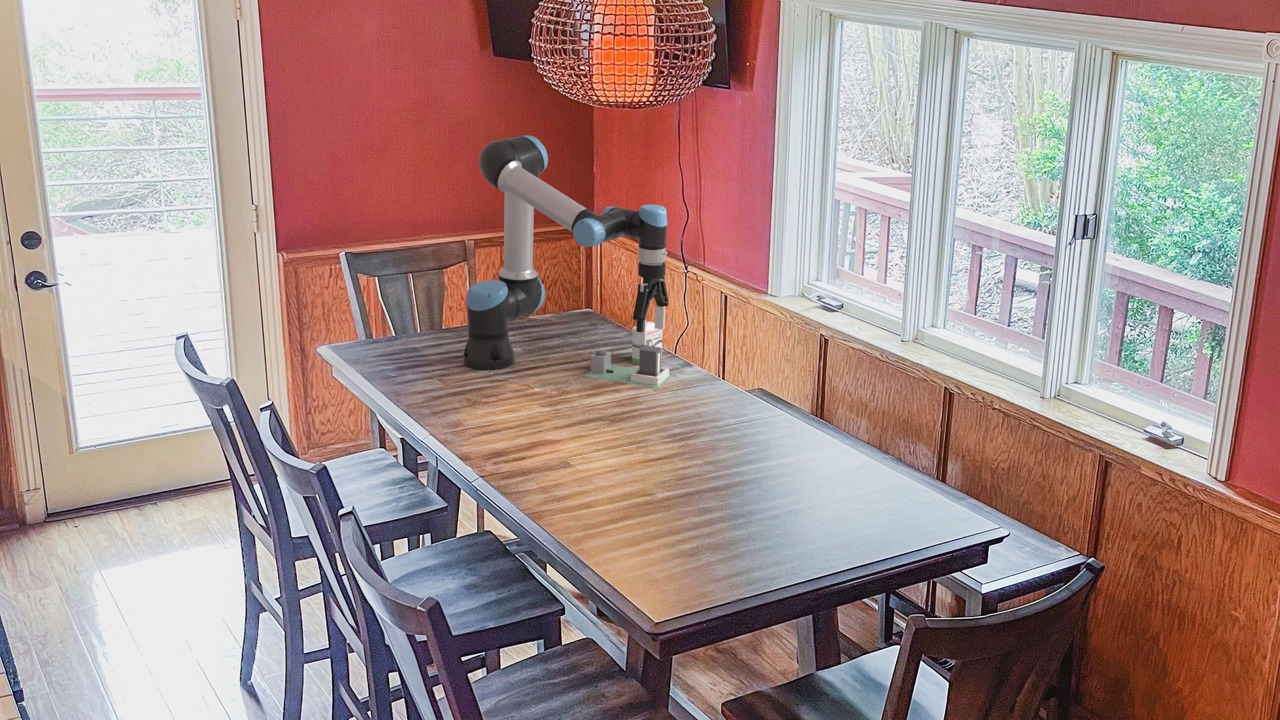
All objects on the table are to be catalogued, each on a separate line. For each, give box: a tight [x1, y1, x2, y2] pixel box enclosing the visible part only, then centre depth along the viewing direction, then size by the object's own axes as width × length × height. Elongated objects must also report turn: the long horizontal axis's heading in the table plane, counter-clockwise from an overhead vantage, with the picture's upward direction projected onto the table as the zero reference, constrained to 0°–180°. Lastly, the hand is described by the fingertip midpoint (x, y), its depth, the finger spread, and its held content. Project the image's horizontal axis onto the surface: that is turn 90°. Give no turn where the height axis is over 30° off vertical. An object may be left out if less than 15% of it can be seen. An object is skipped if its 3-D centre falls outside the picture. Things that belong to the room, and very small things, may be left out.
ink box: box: [631, 321, 663, 365], centre depth 367 cm, size 9×5×12 cm, turn 140°
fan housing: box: [590, 349, 614, 374], centre depth 358 cm, size 6×5×6 cm
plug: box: [638, 345, 662, 377], centre depth 352 cm, size 5×4×9 cm
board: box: [583, 364, 674, 389], centre depth 356 cm, size 23×12×1 cm, turn 67°
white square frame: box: [631, 367, 670, 386], centre depth 353 cm, size 8×9×2 cm
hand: (650, 335), depth 349 cm, fingers open, 13 cm apart
